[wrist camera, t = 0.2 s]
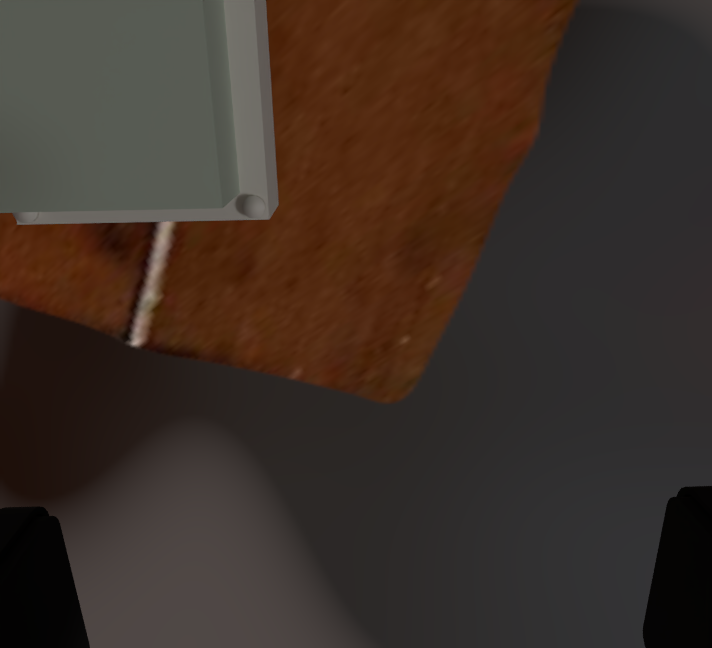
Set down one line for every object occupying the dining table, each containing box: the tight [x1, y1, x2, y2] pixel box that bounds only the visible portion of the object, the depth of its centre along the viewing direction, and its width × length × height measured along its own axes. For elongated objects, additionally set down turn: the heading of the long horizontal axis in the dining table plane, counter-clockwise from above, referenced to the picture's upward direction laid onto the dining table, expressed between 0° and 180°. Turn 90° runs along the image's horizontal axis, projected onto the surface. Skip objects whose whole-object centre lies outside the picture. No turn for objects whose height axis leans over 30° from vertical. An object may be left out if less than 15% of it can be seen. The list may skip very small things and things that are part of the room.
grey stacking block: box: [0, 0, 279, 225], centre depth 31 cm, size 14×14×10 cm
